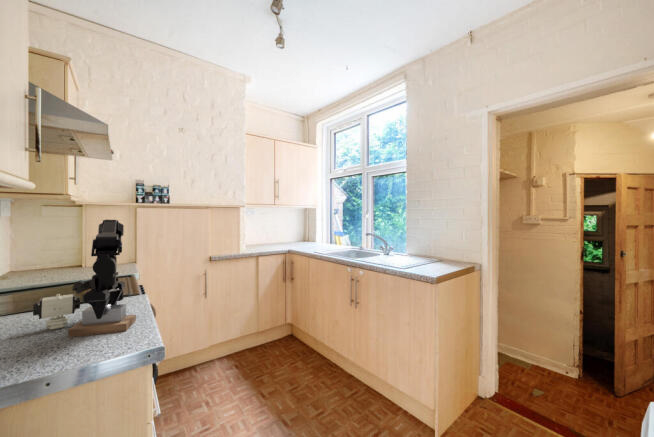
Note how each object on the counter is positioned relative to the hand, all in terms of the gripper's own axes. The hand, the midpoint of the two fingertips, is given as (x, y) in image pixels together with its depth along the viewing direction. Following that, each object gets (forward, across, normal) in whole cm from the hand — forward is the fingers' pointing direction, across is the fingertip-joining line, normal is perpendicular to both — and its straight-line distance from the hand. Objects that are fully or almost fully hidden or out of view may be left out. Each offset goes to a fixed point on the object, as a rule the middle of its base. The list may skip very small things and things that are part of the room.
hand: (104, 314), depth 95 cm
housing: (+2, 0, 0) cm, 2 cm away
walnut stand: (+5, 0, 0) cm, 5 cm away
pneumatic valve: (+5, -6, -16) cm, 18 cm away
